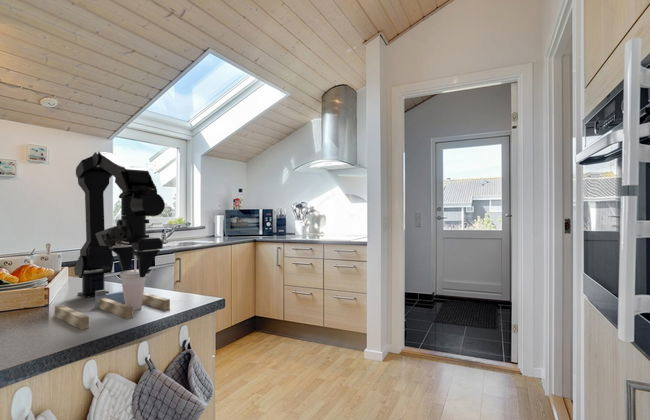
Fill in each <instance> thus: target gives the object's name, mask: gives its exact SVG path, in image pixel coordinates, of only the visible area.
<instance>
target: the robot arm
mask: <svg viewBox="0 0 650 420" xmlns="http://www.w3.org/2000/svg"><path fill="white" fill-rule="evenodd" d="M75 176H76V178H77V184H78V185H79V187H80V189H82V191H83V192H84V205H85V209H84V210H85V234H86V235H85V237H86V238H85V239H86V240H85V242H84V244H83V245H82V247H81V249H80V251H79V256H78V259H77V261H76V263H75V266H74V270H73V271H74V275H75V276H77V277H80V278H81V280H82V281H81V283H82V284H81V291H80V292H77V295H78V296H82V297H83V298H90V297H91V298H92V297H95V291H98V290H105V274H112V271H113V266H114V261H115V257H114V255H113V253H114V254H116V257H117V260H118V262H119V265H120V268H121V272H122V271H127V270H130V268H131V265H132V262H133V261H132V260H133V259H134V255H136V256H137V267H138V270H139V274H140V277H145V276H147V275H148V272H149V270H150V267H151V265H152V264H153V261H154V260H155V259H156V256H157V255H158V253H160V252H161V250H162V249H164V248H163V247H164V245H163V244H164V241H163V240H162V239H161V238H160V237H153V236H152V237H150V234H147V226H146V225H147V224H150V219H147V217H157V216H159V215H161V214H162V213H164V211H165V207H166V203H165V201H164V198H163V197H162V195H160V194H159V193H158V189H157V185H155V182H154V180H153V178H152V175H151V174H150V172H149V171H148V169H146V168H143V167H138V166H134V165H133V166H132V165H130V164H129V163H127V162H125V161H123V160H122V159H120V158H119V157H118V156H116V154H115V153H112V152H103V151H97V152H94V153H93V154H92V155H91V156H89V157H86V158H83V159H82V160H81V161H80V162H79V163H78V165H77V166H76V168H75ZM111 177H114V178H115V179H114V183H115V185H116V186H117V187H118V188H119V189H120V191H122V192H121V193H120V194H119V195H118V198H119V199H121V200H120V201H121V203H120V204H121V205H120V206H121V207H120V208H121V209H120V213H121V215H120V216H121V217H120V219H118V220H117V221H116V225H115V226H111V227H108V228H105V227H106V226H105V208H104V207H105V206H104V205H105V203H104V201H105V199H104V197H105V196H104V192H105V191H106V189H107V187H108V186H109V185H110V179H111ZM146 274H147V275H146ZM145 278H146V277H145ZM107 293H110V291H108V290H106V294H107Z"/></svg>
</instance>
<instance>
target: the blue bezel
mask: <svg viewBox="0 0 650 420" xmlns="http://www.w3.org/2000/svg"><path fill="white" fill-rule="evenodd" d="M106 291H107V290H105V289H104V290H98V291H95V296H94V307H95V308H98V298H102V297H105V298H108V299H111V300H113V301H116V302H119V303H122V304H125V301H124V294H123V290H119V291H115V292H114V291H113V292H109V293H107V294H106ZM98 309H99V308H98Z"/></svg>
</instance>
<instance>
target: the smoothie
mask: <svg viewBox="0 0 650 420" xmlns="http://www.w3.org/2000/svg"><path fill="white" fill-rule="evenodd" d="M133 260H134V261H133V263H134V265H133V267H134V269H129V270H127V271H122V270H121V271H120V272H119V277H120V278H121V279H120V280H121V285H122V291H123V294H124V301H125V302H124V304H125V305H128V306H131V307H133V311H137V310H140V309H142V307H143V303H142V300H143V292H145V285H146V284H145V283H146V276H147V275H148V273H147V274H146V276H145V277H140V274H139V269H138V268H137V267H138V259H137V256H136V255H134V254H133Z"/></svg>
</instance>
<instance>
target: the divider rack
mask: <svg viewBox="0 0 650 420" xmlns="http://www.w3.org/2000/svg"><path fill="white" fill-rule="evenodd" d="M170 300H171V299H169V298H166V297H163V296H161V295H155V294H151V293H149V292H145V291H144V292H143V300H142V304H143V303H144V305H148V306H149V307H153V308H156V309H160V310H162V311H167V310H170V308H171V303H170V302H171V301H170ZM98 309H99V310H103V311H105V312H107V313H109V314H113V315H115V316H118V317H120V318H122V319H126V320H128V319H131V318H134V316H133V315H134V312H133V311H134V310H133V307H131V306H128V305H125V303H119V302H116V301H113V300H111V299H108V298H105V297H102V298H98ZM54 317H56V318H58V319H59V320H61V321H64V322H65V323H67V324H69V325H71V326H73V327H74V328H77V329H79V330H84V329H85V330H86V329H89V327H90V326H89V322H90V321H89V319H90V316H89V315H86V314H84V313H82V312H80V311H78V310H75V309H72V308H71V307H68V306H66V305H63V304H57V305H54Z"/></svg>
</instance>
